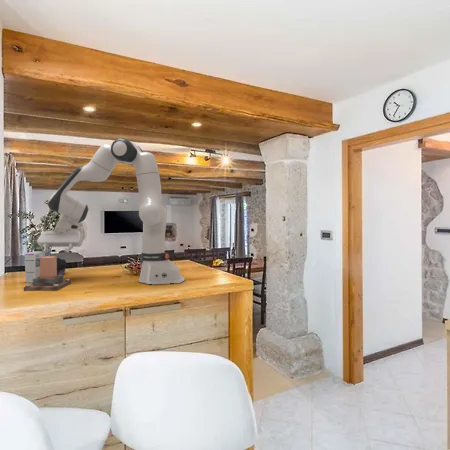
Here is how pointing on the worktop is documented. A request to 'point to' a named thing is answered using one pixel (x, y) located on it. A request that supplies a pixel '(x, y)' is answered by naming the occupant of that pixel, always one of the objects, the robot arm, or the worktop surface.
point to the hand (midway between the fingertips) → (55, 252)
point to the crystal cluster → (61, 266)
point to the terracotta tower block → (48, 267)
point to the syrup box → (32, 265)
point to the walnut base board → (47, 284)
